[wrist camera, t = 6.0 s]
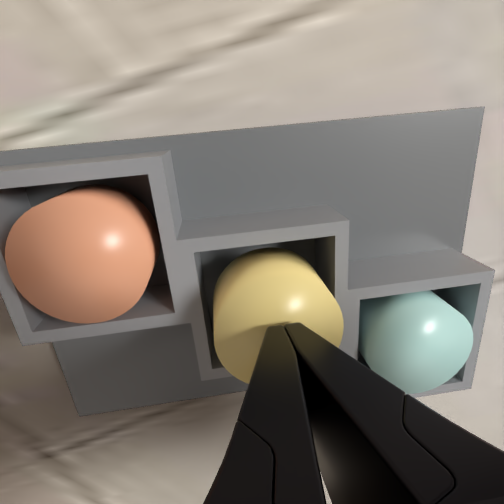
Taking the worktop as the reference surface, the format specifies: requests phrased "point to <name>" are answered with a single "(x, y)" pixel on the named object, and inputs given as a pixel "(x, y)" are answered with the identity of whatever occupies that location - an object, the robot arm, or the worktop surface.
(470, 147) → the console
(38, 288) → the terracotta button
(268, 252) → the mustard button
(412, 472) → the robot arm
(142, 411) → the worktop surface
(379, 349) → the teal button
